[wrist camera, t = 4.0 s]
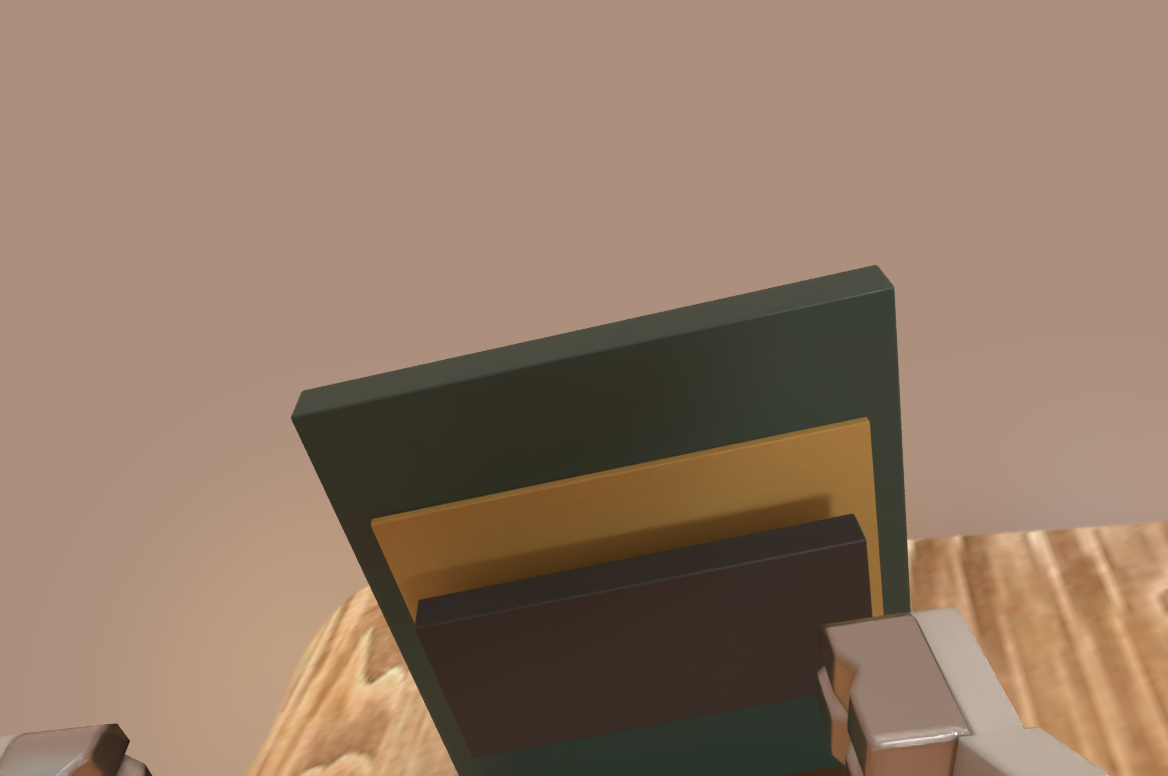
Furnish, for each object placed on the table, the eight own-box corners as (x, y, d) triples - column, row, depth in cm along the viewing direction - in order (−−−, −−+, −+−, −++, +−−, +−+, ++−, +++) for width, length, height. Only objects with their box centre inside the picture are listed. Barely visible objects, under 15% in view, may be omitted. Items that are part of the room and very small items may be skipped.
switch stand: (990, 946, 30) (1000, 419, 19) (483, 1028, 31) (220, 578, 20) (874, 660, 40) (837, 213, 29) (496, 731, 41) (327, 327, 30)
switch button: (878, 684, 28) (866, 539, 25) (472, 759, 29) (413, 629, 26) (866, 654, 29) (854, 511, 26) (474, 728, 30) (417, 599, 27)
